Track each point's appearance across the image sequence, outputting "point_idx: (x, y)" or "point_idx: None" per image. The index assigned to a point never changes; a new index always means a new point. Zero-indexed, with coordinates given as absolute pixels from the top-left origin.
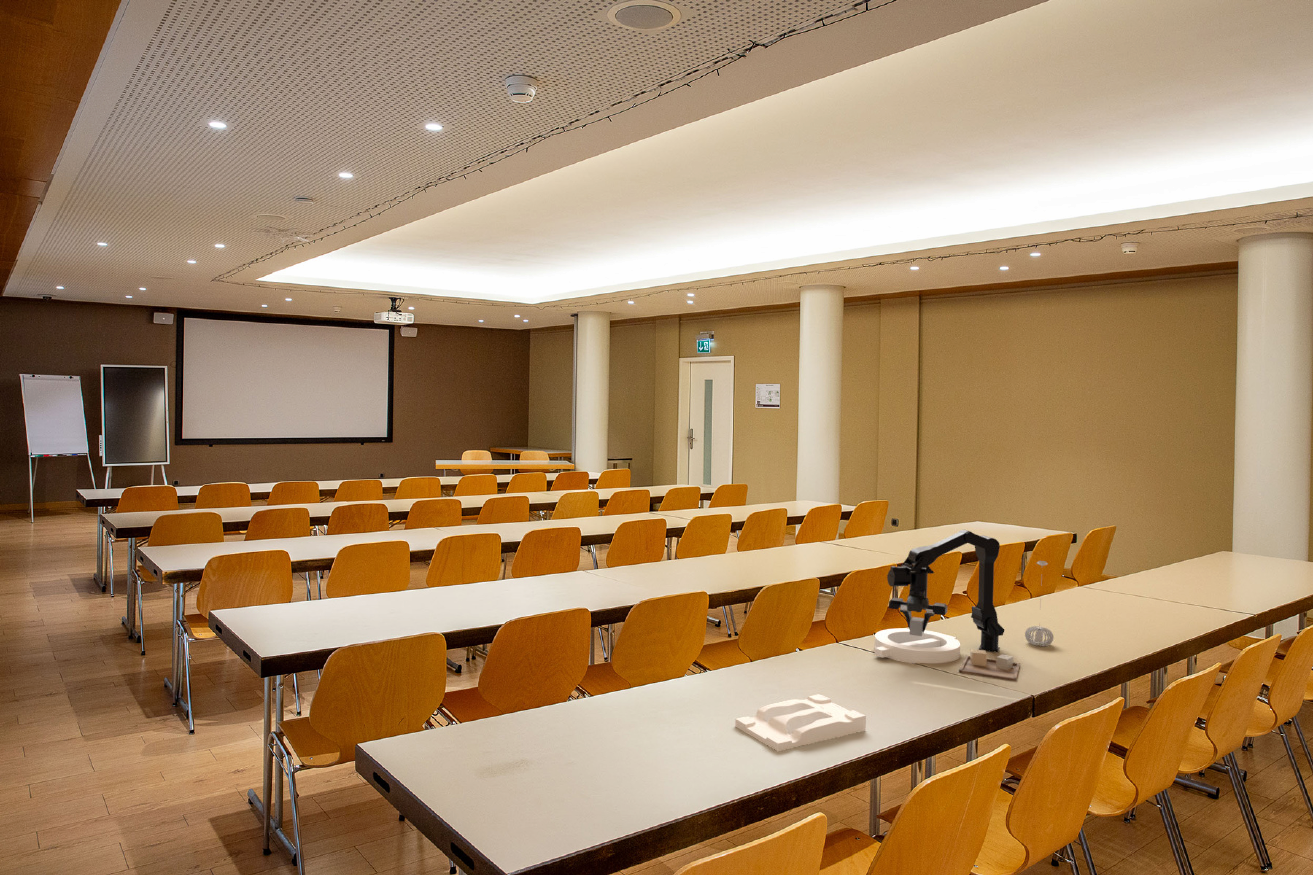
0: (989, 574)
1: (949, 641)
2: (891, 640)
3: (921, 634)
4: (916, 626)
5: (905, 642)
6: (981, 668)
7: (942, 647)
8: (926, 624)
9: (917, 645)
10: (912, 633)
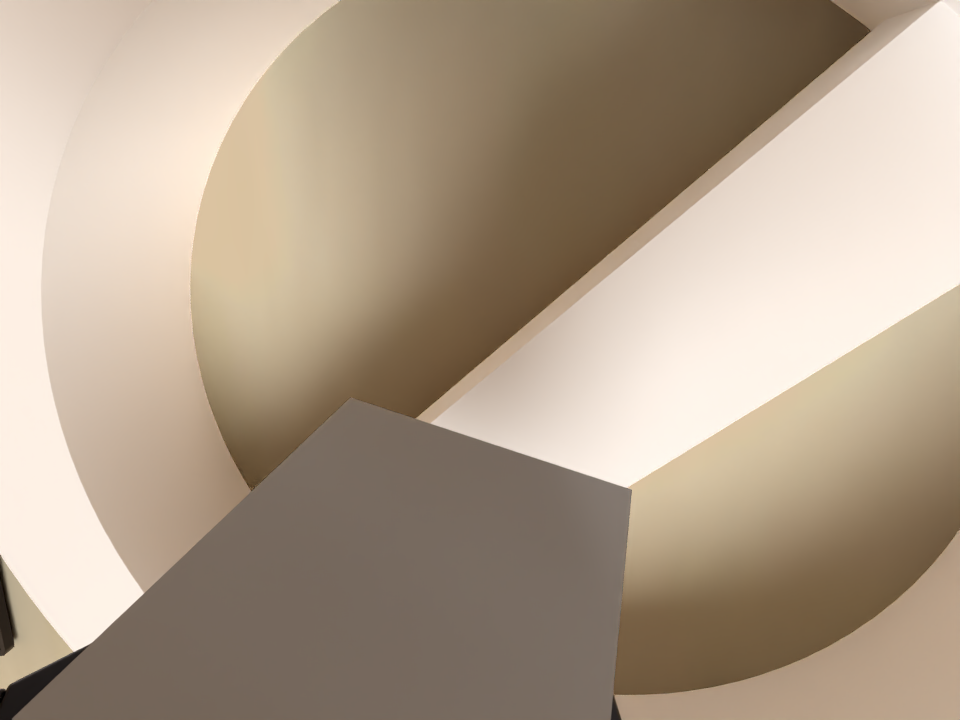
0: None
1: (47, 473)
2: (882, 690)
3: (334, 418)
4: (373, 605)
5: (639, 708)
6: None
7: (34, 77)
8: (47, 665)
9: (496, 364)
10: (553, 489)
